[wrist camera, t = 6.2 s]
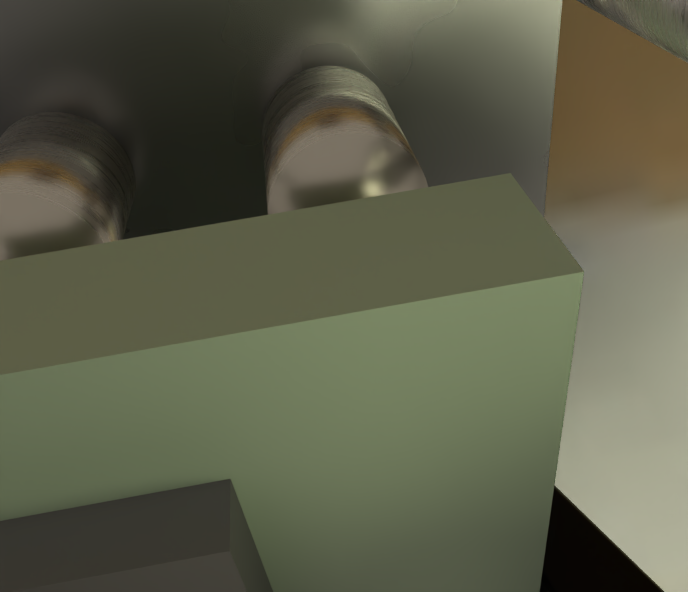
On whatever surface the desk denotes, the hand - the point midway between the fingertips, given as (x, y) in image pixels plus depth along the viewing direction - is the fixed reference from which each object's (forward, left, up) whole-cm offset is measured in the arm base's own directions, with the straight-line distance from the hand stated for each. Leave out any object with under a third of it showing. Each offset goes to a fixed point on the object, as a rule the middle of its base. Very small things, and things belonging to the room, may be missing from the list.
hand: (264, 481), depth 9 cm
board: (0, 0, +1) cm, 1 cm away
